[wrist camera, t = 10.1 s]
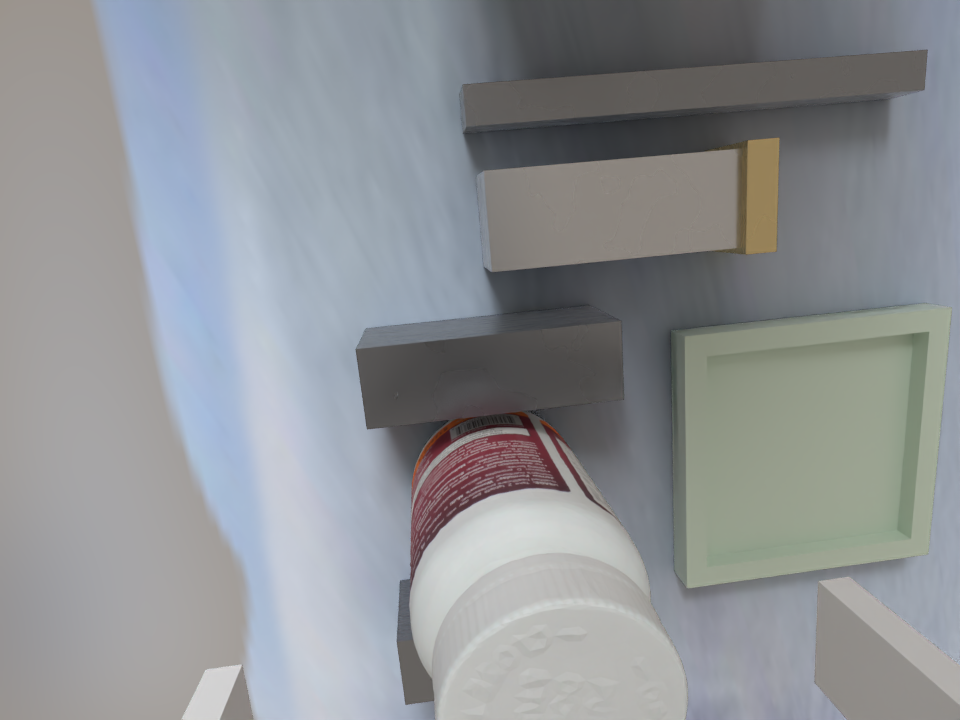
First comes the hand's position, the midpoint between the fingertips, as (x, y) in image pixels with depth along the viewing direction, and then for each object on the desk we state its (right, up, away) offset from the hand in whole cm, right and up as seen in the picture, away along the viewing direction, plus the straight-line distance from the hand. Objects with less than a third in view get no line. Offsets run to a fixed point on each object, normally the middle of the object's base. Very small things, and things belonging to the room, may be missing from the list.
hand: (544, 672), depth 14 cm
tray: (+11, +4, +10) cm, 15 cm away
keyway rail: (+5, +16, +7) cm, 18 cm away
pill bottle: (-1, +3, +9) cm, 10 cm away
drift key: (+3, +12, +7) cm, 14 cm away
